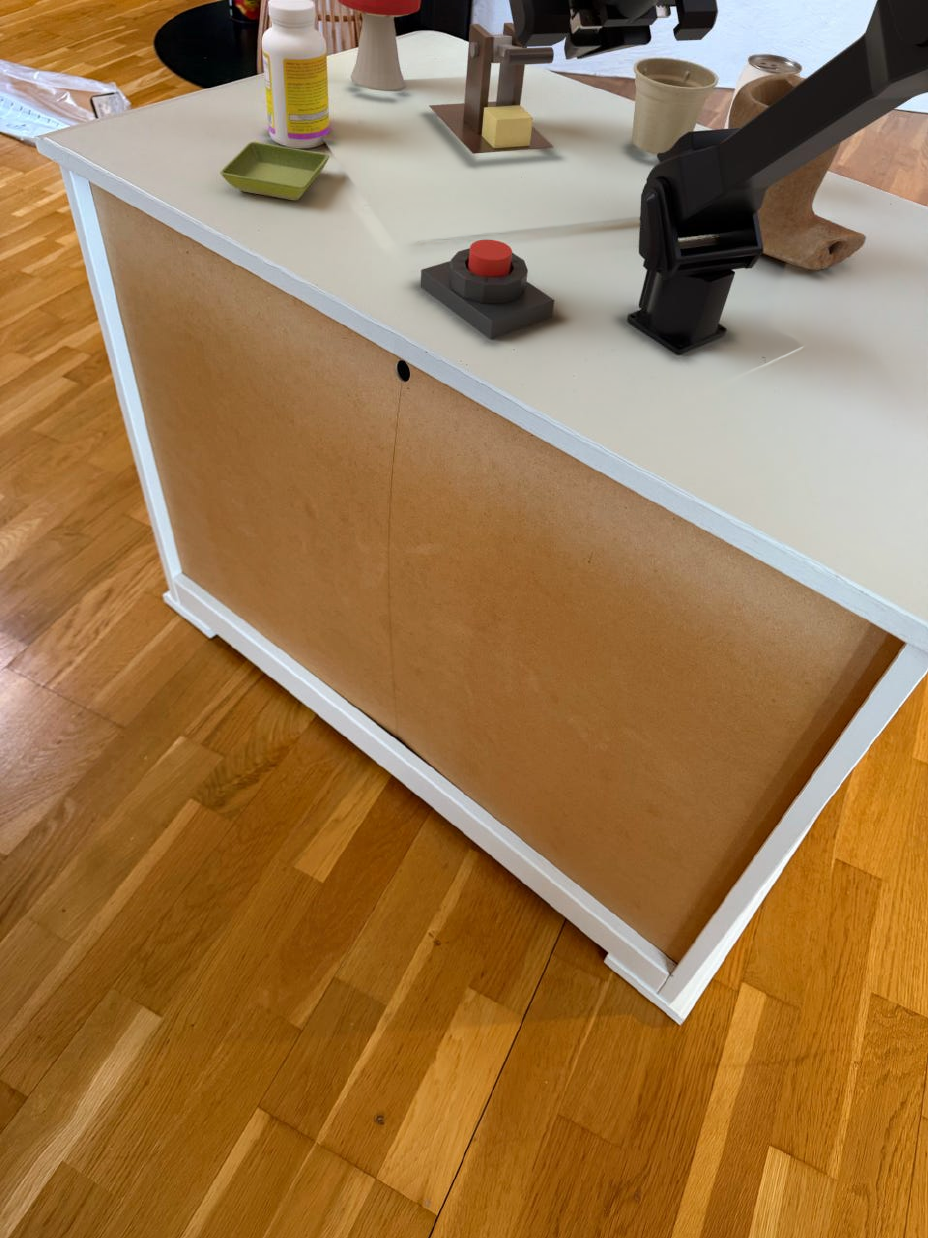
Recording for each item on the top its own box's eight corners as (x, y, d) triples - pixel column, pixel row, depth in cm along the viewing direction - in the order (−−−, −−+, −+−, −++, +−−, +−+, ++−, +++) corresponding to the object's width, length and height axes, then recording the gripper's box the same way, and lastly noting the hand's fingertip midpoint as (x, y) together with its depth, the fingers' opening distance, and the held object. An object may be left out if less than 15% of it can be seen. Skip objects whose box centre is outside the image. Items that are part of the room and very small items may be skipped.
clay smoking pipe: (671, 234, 91) (714, 70, 79) (735, 204, 97) (783, 47, 85) (800, 296, 84) (866, 126, 73) (859, 260, 90) (929, 98, 79)
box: (551, 317, 78) (558, 280, 75) (490, 340, 75) (494, 301, 72) (480, 268, 83) (484, 231, 80) (420, 287, 80) (422, 249, 77)
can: (768, 198, 98) (808, 78, 89) (709, 188, 99) (744, 67, 90) (766, 175, 103) (804, 58, 94) (710, 166, 103) (743, 48, 94)
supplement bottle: (341, 138, 100) (339, 3, 90) (304, 155, 96) (297, 17, 86) (295, 121, 102) (287, -12, 92) (256, 138, 98) (244, 0, 88)
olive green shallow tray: (252, 160, 94) (250, 139, 93) (331, 174, 93) (331, 153, 92) (220, 194, 88) (218, 172, 87) (305, 209, 88) (303, 187, 86)
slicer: (553, 157, 101) (569, 49, 93) (471, 164, 98) (481, 53, 90) (504, 110, 109) (515, 7, 101) (428, 115, 106) (432, 10, 98)
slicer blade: (553, 69, 92) (554, 41, 90) (509, 71, 90) (510, 43, 89) (512, 59, 99) (513, 33, 98) (471, 60, 98) (471, 34, 96)
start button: (518, 272, 76) (520, 253, 75) (485, 283, 75) (487, 263, 73) (491, 255, 78) (494, 235, 77) (459, 264, 76) (461, 245, 75)
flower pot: (713, 163, 104) (736, 80, 97) (654, 176, 100) (674, 92, 93) (659, 133, 109) (678, 52, 102) (601, 145, 105) (616, 62, 98)
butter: (529, 145, 100) (533, 117, 97) (493, 148, 98) (496, 119, 96) (516, 133, 102) (520, 104, 100) (481, 135, 100) (483, 106, 98)
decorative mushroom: (428, 89, 112) (434, -57, 101) (400, 111, 106) (404, -41, 95) (356, 73, 114) (355, -72, 102) (325, 94, 108) (320, -58, 97)
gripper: (741, -167, 71) (641, -38, 85) (530, -176, 65) (462, -36, 80) (765, -20, 72) (662, 82, 87) (559, -16, 66) (487, 92, 81)
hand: (571, 53), depth 84 cm, fingers closed
